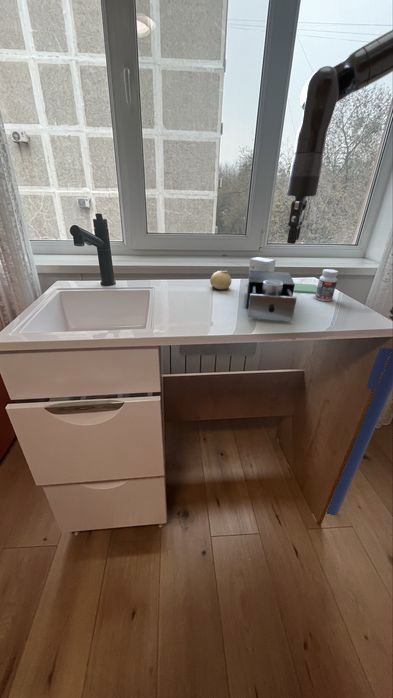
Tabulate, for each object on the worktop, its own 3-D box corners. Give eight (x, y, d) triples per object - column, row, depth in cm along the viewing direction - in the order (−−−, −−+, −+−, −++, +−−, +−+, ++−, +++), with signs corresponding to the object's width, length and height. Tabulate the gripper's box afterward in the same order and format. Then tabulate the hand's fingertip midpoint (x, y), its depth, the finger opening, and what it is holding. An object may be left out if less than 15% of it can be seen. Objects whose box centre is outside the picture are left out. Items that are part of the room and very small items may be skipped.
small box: (272, 287, 112) (276, 259, 107) (264, 290, 108) (268, 261, 103) (255, 283, 117) (258, 256, 112) (247, 285, 113) (250, 258, 108)
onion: (213, 291, 105) (214, 272, 102) (207, 285, 112) (208, 267, 109) (233, 290, 107) (235, 271, 104) (226, 284, 114) (228, 266, 110)
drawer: (292, 323, 79) (297, 299, 76) (247, 319, 81) (250, 296, 78) (287, 305, 92) (290, 284, 89) (248, 302, 94) (250, 281, 91)
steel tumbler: (278, 306, 88) (282, 280, 84) (279, 312, 83) (284, 285, 79) (259, 304, 89) (263, 278, 85) (259, 311, 84) (263, 284, 80)
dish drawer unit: (289, 311, 90) (294, 284, 85) (246, 308, 92) (248, 281, 87) (285, 296, 102) (289, 272, 98) (246, 293, 104) (249, 270, 100)
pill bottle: (320, 302, 98) (327, 273, 93) (311, 296, 103) (317, 268, 98) (335, 301, 99) (343, 272, 94) (325, 295, 104) (332, 268, 99)
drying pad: (314, 286, 115) (315, 284, 114) (319, 293, 106) (320, 292, 106) (289, 284, 116) (289, 282, 116) (292, 291, 108) (292, 290, 107)
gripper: (318, 173, 67) (304, 246, 75) (321, 176, 78) (308, 239, 86) (286, 173, 69) (275, 243, 77) (292, 176, 81) (283, 237, 89)
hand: (292, 241), depth 82 cm, fingers open, 8 cm apart
